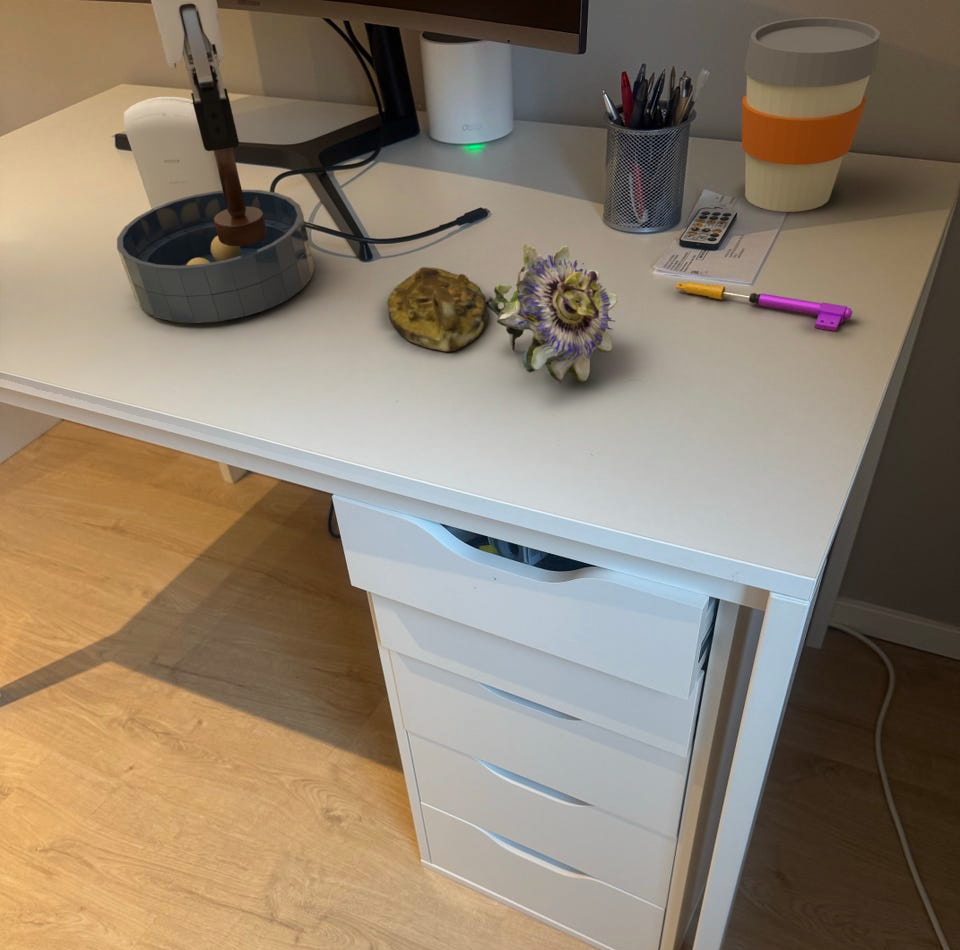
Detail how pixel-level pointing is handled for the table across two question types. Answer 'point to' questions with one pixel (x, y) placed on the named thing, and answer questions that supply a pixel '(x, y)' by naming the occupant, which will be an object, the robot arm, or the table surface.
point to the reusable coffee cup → (803, 107)
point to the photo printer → (170, 150)
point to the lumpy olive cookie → (438, 309)
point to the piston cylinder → (779, 304)
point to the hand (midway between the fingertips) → (221, 142)
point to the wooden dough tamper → (236, 206)
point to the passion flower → (556, 314)
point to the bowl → (219, 284)
